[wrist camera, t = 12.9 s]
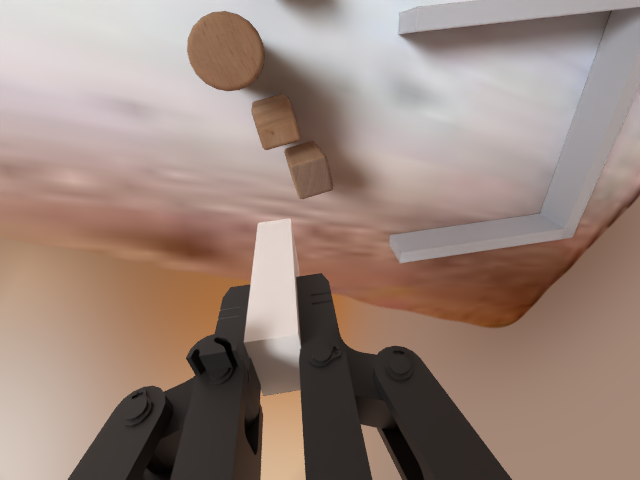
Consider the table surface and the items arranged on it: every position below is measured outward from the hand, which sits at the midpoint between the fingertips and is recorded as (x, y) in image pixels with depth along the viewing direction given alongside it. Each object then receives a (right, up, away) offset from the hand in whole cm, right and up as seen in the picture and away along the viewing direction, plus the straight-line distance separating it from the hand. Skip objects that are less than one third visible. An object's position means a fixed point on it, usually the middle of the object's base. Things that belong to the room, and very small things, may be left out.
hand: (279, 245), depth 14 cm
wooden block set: (-3, +15, +13) cm, 20 cm away
